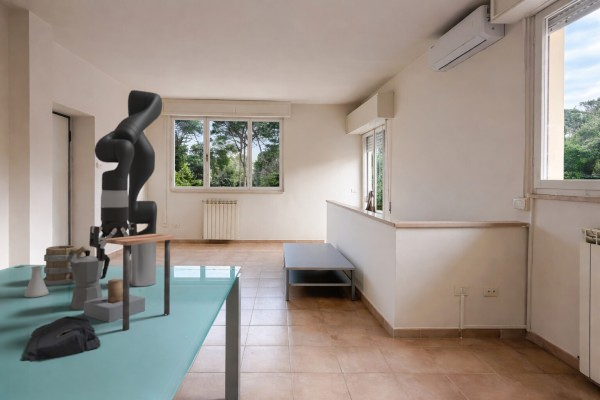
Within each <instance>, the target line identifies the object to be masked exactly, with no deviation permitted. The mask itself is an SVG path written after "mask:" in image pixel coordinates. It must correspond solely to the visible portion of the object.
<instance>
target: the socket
mask: <svg viewBox="0 0 600 400" xmlns="http://www.w3.org/2000/svg"><path fill="white" fill-rule="evenodd" d="M145 311H146V298H145V297H141V296H137V295H134V294H129V317H130V316H133V315H136V314H139V313H142V312H145ZM83 316H84V317H90V318H93V319H96V320H100V321H103V322H106V323H112V322H114V321H115V322H116V321H118V320H121V319H123V301H120V302H117V303H113V304H112V303H108V295H105V296H102V297H101V298H97V299H93V300H89V301H85V302H84V310H83Z"/></svg>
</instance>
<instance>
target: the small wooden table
mask: <svg viewBox="0 0 600 400" xmlns="http://www.w3.org/2000/svg"><path fill="white" fill-rule="evenodd" d="M174 237H175V236H174V235H168V234H159V233H156V234H147V235H138V236H129V237H120V238H111V239H105V243H107V244H112V245H113V244H114V245H119V246H122V280H123V318H122V331H128V330H130V316H129V295H130V284H129V273H130V260H131V254H130V245H134V244H141V243H149V242H156V243H157V242H161V241H163V242H164V254H163V255H164V258H163V259H164V262H163V263H164V264H163V265H164V269H163V271H164V273H163V276H164V277H163V278H164V279H163V283H164V284H163V315H164V314H169V315H170V312H171V310H170V309H171V308H170V307H171V306H170V305H171V302H170V301H171V300H170V299H171V294H170V293H171V291H170V288H171V240H175V239H174Z"/></svg>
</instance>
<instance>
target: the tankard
mask: <svg viewBox="0 0 600 400" xmlns="http://www.w3.org/2000/svg"><path fill="white" fill-rule="evenodd" d="M86 250H89V249H88V248H87V247H86V246H81V247H79V248H78V246H77V245H71V244H69V245H67V244H66V245H54V246H49V247H47V248H46V249H45V254H44V255H43V261H44V262H45V266H44V267H43V273H44V274H45V277H43V280H44V283H45V285H46V286H64V285H69V284H70V285H71V284H75V281H74V279H73V274H72V268H71V266H69V265H68V264H69V263H70V261H71V260H74V259H76V258H80V257H83V254H85V251H86Z"/></svg>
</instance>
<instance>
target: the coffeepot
mask: <svg viewBox="0 0 600 400" xmlns="http://www.w3.org/2000/svg"><path fill="white" fill-rule="evenodd" d="M84 255H85V256H82V257H80V258H76V259H74V260H71V261H70V263H69V264H68V265H69V266H71V268H72V274H73V279H74V281H75V283H74V284H75V285H74V287H73V290H72V291H73V292H72V297H71V302H70V308H71V309H72V310H76V311H84V302H85V301H89V300H93V299H97V298H101V297H103V293H102V288H101V287H102V286H101V284H100V280H103V279H106V276H107V272H108V269H109V266H110V261H111V258H110V256H108V255H107V254H106V253H105V260H104V261H98V259H97V258H96V256H94V255H91V250H89V249H88V250H86V251H85V253H84Z"/></svg>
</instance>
